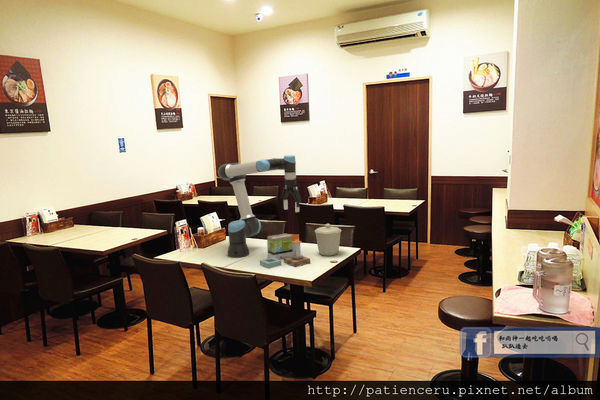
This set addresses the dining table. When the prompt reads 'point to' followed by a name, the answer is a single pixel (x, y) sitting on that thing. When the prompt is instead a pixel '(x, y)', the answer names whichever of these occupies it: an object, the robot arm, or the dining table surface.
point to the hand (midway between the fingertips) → (291, 210)
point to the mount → (270, 262)
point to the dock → (297, 261)
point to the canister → (328, 240)
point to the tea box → (280, 246)
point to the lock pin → (296, 249)
